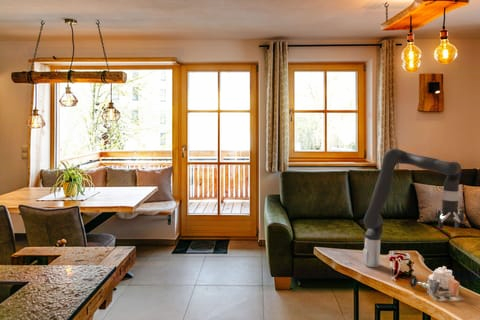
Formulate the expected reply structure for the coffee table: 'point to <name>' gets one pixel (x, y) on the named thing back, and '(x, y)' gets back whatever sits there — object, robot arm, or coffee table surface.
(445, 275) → the mechanical part
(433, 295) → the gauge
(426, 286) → the valve
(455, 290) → the carriage
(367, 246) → the robot arm
